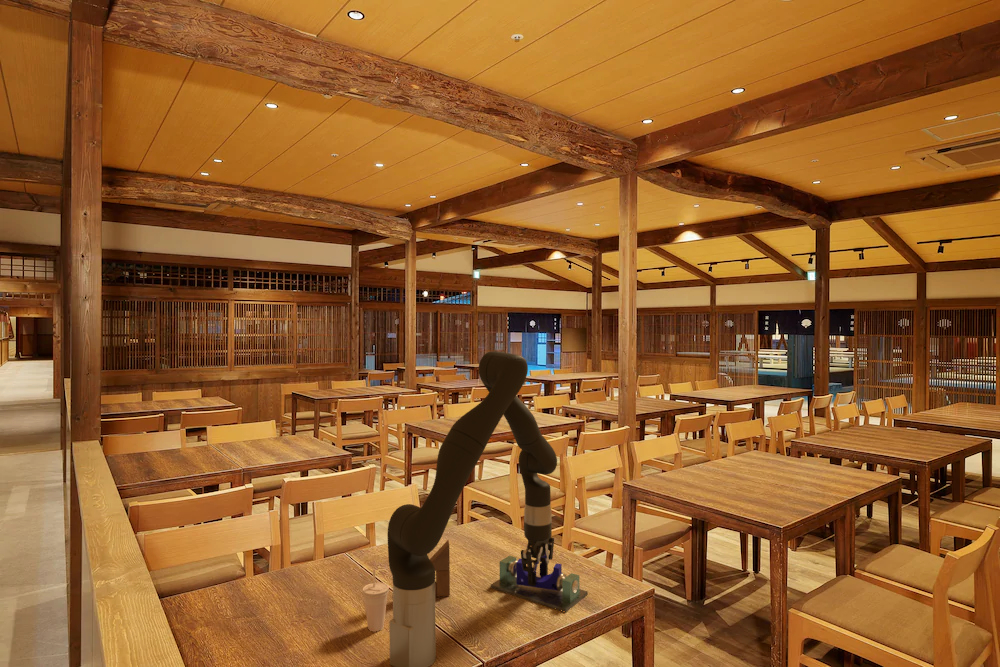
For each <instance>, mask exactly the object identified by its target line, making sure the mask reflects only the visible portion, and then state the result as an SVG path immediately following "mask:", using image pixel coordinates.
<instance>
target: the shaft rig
mask: <svg viewBox="0 0 1000 667" xmlns="http://www.w3.org/2000/svg"><path fill="white" fill-rule="evenodd" d="M517 561H518V560H517V557H515V556H511V555H508V556H506V557H505V558H503V559H501V560H499V579H497V580H495V581H494V582H492V583H491V584H490V588H491V589H493V590H496V591H500V592H504V593H506V594H509V595H512V596H515V597H518V598H520V599H523V600H527V601H530V602H533V603H536V604H539V605H542V606H545V607H548V608H551V609H554V608H556V609H555V610H557V609H559V610H558V611H560V610H562V611H561V612H563V611H565V612H564V613H567V612H569V611H570V610H571V609H572V608H574V607H575V605H577V604H579V602H581V601H582V600H583V599H584V598H585V597H586V596H587V595H588V592H589V591H587V590H584V589H580V575H579V574H576V573H573V572H571V573H570V574H568V575H567V574H565V573H563V572H562V573H561V574H560V575H559V576H558V578H557V582H556V587H557V590H558V591H557V590H550V589H544V588H537V587H531V586H524V585H517V584H516V562H517ZM536 576H537V575H536ZM537 577H539V576H537ZM570 608H571V609H570ZM569 609H570V610H569ZM566 611H567V612H566Z"/></svg>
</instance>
